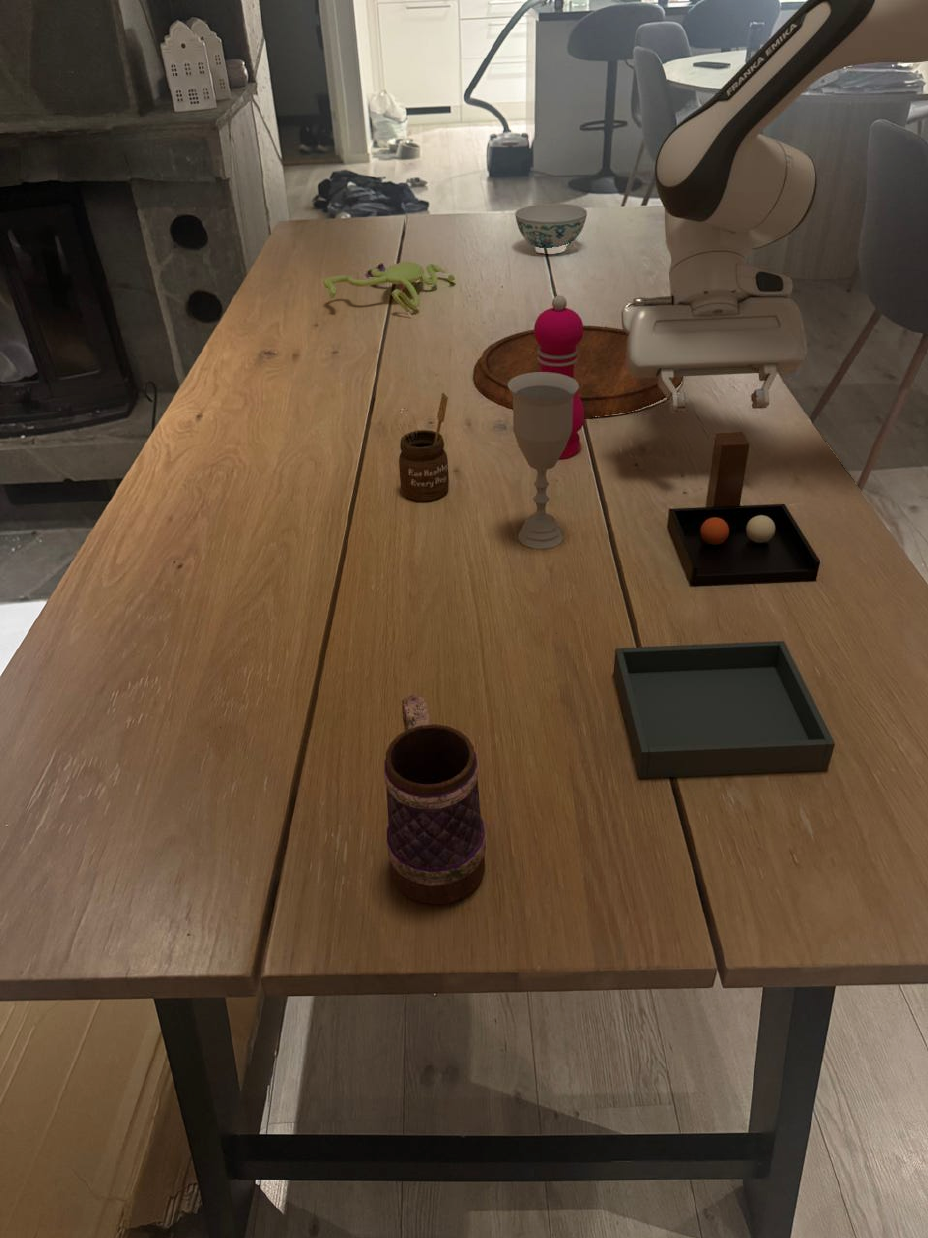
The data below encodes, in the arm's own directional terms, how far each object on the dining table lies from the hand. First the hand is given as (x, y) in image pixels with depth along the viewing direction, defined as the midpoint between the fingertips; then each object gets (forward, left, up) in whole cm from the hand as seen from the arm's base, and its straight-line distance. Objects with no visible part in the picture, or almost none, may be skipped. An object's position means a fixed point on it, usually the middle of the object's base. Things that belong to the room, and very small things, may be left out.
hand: (719, 408), depth 105 cm
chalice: (+21, +9, -11) cm, 25 cm away
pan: (0, +12, -11) cm, 16 cm away
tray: (+9, +40, -11) cm, 42 cm away
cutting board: (+11, -38, -11) cm, 41 cm away
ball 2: (-2, +13, -9) cm, 15 cm away
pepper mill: (+17, -13, -11) cm, 24 cm away
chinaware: (+8, -108, -11) cm, 109 cm away
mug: (+33, +53, -11) cm, 63 cm away
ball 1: (+3, +13, -9) cm, 15 cm away
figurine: (+41, -80, -11) cm, 91 cm away
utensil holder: (+34, -3, -11) cm, 36 cm away
